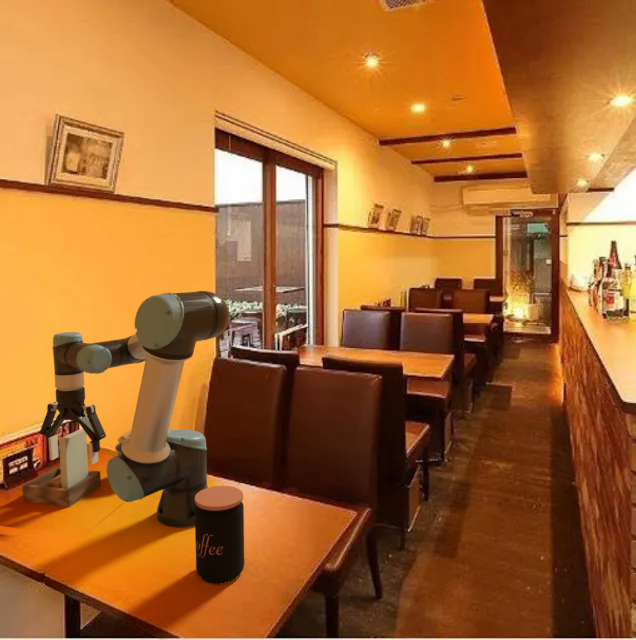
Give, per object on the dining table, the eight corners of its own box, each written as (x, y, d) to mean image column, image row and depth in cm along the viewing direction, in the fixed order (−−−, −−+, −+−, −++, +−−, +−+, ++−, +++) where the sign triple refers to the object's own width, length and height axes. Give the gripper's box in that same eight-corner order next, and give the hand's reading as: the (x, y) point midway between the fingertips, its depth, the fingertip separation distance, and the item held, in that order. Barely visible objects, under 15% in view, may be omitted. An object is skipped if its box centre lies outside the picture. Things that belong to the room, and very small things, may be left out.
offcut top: (74, 481, 162) (73, 473, 162) (58, 492, 155) (58, 483, 155) (63, 480, 163) (63, 472, 162) (47, 491, 155) (47, 482, 155)
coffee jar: (187, 571, 124) (184, 495, 122) (226, 553, 131) (225, 481, 129) (213, 592, 117) (212, 511, 114) (254, 572, 124) (253, 495, 122)
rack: (101, 490, 165) (100, 471, 164) (70, 512, 152) (68, 491, 151) (57, 485, 169) (56, 466, 168) (23, 506, 155) (22, 485, 154)
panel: (89, 488, 163) (86, 429, 161) (68, 501, 154) (65, 440, 152) (83, 487, 164) (80, 429, 161) (62, 501, 155) (58, 439, 153)
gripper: (116, 386, 156) (119, 459, 159) (42, 381, 161) (46, 452, 164) (100, 393, 149) (104, 469, 151) (23, 387, 154) (27, 461, 157)
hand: (74, 460), depth 158 cm, fingers open, 12 cm apart
